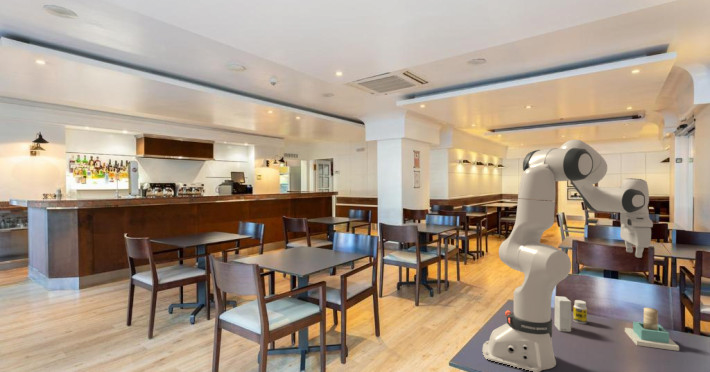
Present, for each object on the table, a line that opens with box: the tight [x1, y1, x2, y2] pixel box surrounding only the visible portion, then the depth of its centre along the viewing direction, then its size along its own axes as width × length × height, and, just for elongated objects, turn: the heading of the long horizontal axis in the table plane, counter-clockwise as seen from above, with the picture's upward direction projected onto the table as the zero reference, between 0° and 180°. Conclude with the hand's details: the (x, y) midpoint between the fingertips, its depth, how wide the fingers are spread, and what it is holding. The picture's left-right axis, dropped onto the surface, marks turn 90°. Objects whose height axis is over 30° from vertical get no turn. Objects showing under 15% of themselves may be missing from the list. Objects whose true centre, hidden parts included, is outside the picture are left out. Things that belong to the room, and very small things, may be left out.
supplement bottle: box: [572, 299, 588, 325], centre depth 147 cm, size 5×5×8 cm
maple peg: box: [643, 307, 659, 331], centre depth 130 cm, size 4×4×10 cm
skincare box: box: [554, 295, 572, 333], centre depth 141 cm, size 6×4×12 cm
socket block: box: [624, 321, 680, 352], centre depth 130 cm, size 12×12×5 cm
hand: (633, 254), depth 140 cm, fingers open, 8 cm apart
